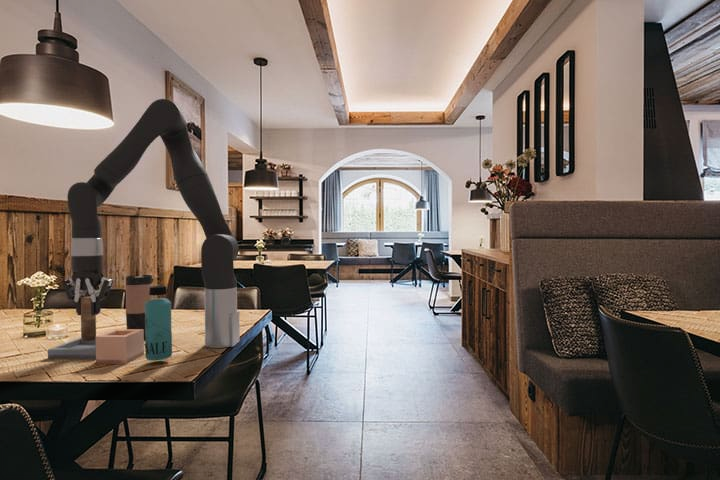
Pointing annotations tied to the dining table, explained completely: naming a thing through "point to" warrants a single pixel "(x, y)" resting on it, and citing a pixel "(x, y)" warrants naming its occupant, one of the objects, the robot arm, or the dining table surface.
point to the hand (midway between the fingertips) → (88, 314)
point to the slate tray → (74, 350)
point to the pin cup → (119, 346)
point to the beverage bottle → (158, 326)
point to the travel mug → (137, 300)
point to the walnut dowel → (87, 320)
